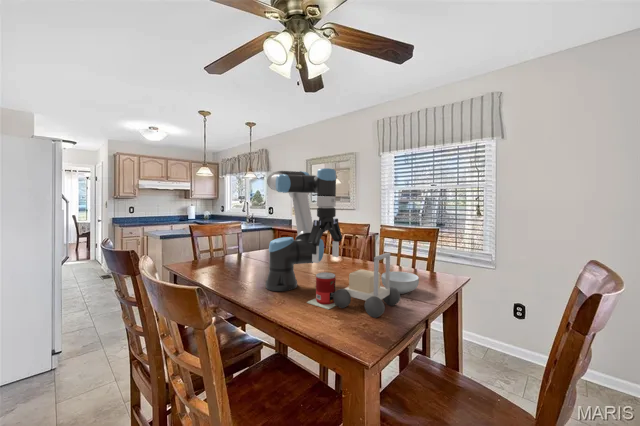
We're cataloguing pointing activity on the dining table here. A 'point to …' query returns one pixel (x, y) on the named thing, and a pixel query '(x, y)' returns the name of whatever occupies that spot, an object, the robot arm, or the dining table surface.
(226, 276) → the dining table surface
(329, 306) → the mat
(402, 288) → the cereal bowl
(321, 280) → the canned food
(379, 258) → the trolley
